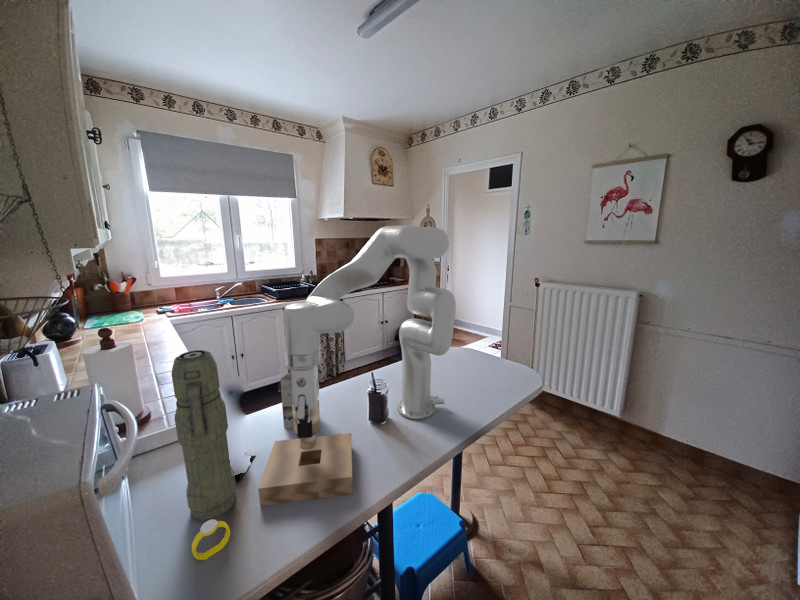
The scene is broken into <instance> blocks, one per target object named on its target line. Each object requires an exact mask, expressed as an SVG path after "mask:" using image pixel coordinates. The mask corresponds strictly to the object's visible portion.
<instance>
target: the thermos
mask: <svg viewBox="0 0 800 600" xmlns="http://www.w3.org/2000/svg"><path fill="white" fill-rule="evenodd" d="M218 372H219V369H218V364H217V362H216V359H215V358H214V356H213V355H212V353H211V352H210V351H207V350H203V349H202V350H201V349H198V350H197V349H196V350H190V351H186V352H183V353H181V354H179V355H178V356H176V357H175V358H174V360H173V364H172V369H171V379H172V380H171V381H172V387H173V392H174V398H175V399H176V402H175V403H176V410H175V414H174V424H175V431H176V436H177V441H178V444H179V445H181V448H182V454H183V461H184V466H185V474H186V479H187V485H186V489H185V491H186V493H185V494H186V501H187V505H188V509H189V511H190V518H191V517H192V518H191V519H192V520H193V521H194V520H195V521H194V522H196V521H197V522H196V523H199V522H207V521H209V520H212V519H215V520H218V519H221V518H222V517H223V516H225V515H226V514H227V513H229V511H230V510H231V509H233V507H234V506H235V503H236V501H237V493H236V491H237V490H236V489H237V486H236V484H237V483H235V476H234V472H233V470H232V468H231V466H230V458H229V456H230V453H229V452H230V451H229V442H228V436H227V431H228V429H229V424H228V417H227V407H226V403H225V401H224V399H223V398H222V395H221V391H220V390H219V389H220V380H219V373H218Z"/></svg>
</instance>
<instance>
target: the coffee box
mask: <svg viewBox="0 0 800 600" xmlns="http://www.w3.org/2000/svg"><path fill="white" fill-rule="evenodd" d="M291 378H292V370H291V371H289V372H288V373H287V374H285V375H284V376H282V377H281V378H280V393H281V395H280V396H281V405H282V418H283V419H282V421H283V427H284V428H288V429H294V421H293V398H292V379H291Z"/></svg>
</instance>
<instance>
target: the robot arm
mask: <svg viewBox="0 0 800 600" xmlns="http://www.w3.org/2000/svg"><path fill="white" fill-rule="evenodd" d="M449 240H450V239H449V236H448V234H447V232H446V231H445V230H443V228H439V227H427V226H420V225H419V226H417V225H408V224H407V225H403V224H402V225H388V226H387V225H386V226H383V227H380V228H378V230H376V231H375V232H374V234H373V235H372V236H371V237H370V238H369V240H368V241H367V242H366V244H365V245H363V247H362V248H361V250H360V251H359V252H358V253H357V254H356V256H355V257H353V258H352V260H351V261H350V262H348V263H347V264H345V265H342V267H339V269H337V270H335V271H334V272H332V273H331V274H329V275H328V276H326V277H325V278H324V279H323V280H322V281H320V283H318V284H317V286H316V287H315V288H314V289H313V290H312V292H311V293H310V294H309V295H308V296H307V298H306V299H305V301H304V302H295V303H290V304H288V305H286V306H285V307H284V309H283V312H282V313H283V314H282V315H283V316H282V318H283V319H282V320H283V332H284V346H285V362H286V367H287V368H288V369H290V370H291V371H292V378H291V379H292V398H293V408H294V411H296V412H297V431H298V437H297V439H300V438H309V437H312V435H313V432H312V420H311V410H315V409H316V408H317V403H318V400H319V396H320V385H319V384H320V383H319V371H318V366H319V365H320V364H321V342H320V341H321V339H320V338H321V337H320V335H321V334H333V333H335V334H336V333H340V332H343V331H346V330H347V329H349V328H350V327H351V326H352V325H353V322H354V320H355V319H354V318H355V313H354V310H353V308H352V306H351V305H349V303H347V302H345V301H342V300H341V299H342V298H343V297H344V296H346V295H349V293H351V292H354V291H357V290H360V289H364V288H368V287H371V286H372V285H375V284H377V282H378V281H379V280H380V279H381V278H382V276H383V275H384V274H385V272H386V271H387V270H388V268H389V267H390V266H391V264H392V263H393V262H394V261H395V259H405V260H406V263H407V265H408V270H409V275H408V277H409V279H408V286H407V287H408V289H407V297H406V298H407V299H406V300H407V301H406V307H407V310H408V311H409V313H411V314H414V315H417V316H420V317H425V318H428V319H431V321H428V320H425V319H420V318H408V319H406V320H404V321H403V322H402V323H401V324H400V328H399V330H398V336H399V343H400V348H401V358H402V359H401V361H402V363H401V364H402V365H401V368H402V370H401V373H402V374H401V376H402V378H401V379H402V380H401V382H402V383H401V384H402V385H401V398H402V399H401V400H400V401H399V402H398V403H397V412H398V413H399V414H400V415H401V416H403V417H405V418H407V419H411V420H423V419H427V418H430V417H431V416H433V414H434V413H435V409H436V407H435V406H436V405H444V404H445V399H444V397H442V398H441V397H440V398H439V395H434V396H433V395H431V384H432V381H431V380H432V376H431V375H432V359H431V355H434V356H438V357H441V356H444V355H445V354H447V353H448V351H449V350H450V348H451V347H452V346H451V345H452V341H453V335H454V326H455V319H456V317H455V316H456V310H457V309H456V308H457V305H456V303H457V302H456V298H455V296H454V294H453V293H452V291H450V290H449V289H446V288H440V287H437V286H436V285H437V284H436V283H437V266H436V264H435V262H434V259H439V258H442V257H443V256H444V255H445V254H446V253H447V251H448V250H449V245H450V241H449ZM430 354H431V355H430ZM305 406H308V408H305ZM305 411H308V416H307V415H305Z"/></svg>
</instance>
